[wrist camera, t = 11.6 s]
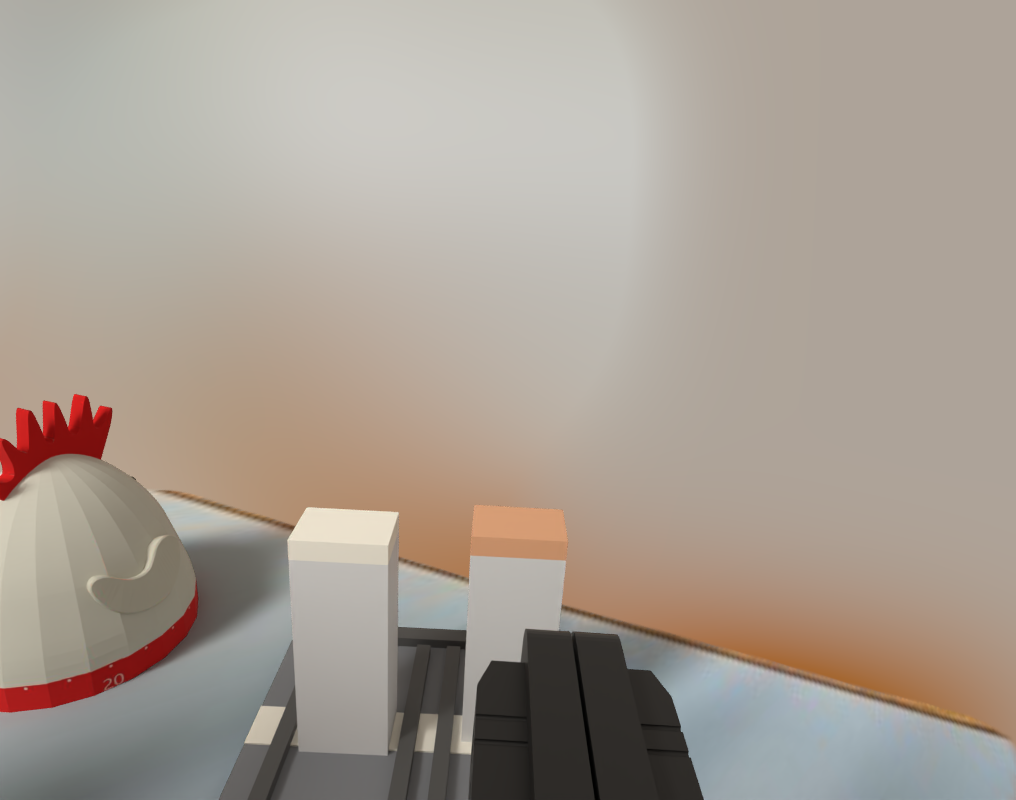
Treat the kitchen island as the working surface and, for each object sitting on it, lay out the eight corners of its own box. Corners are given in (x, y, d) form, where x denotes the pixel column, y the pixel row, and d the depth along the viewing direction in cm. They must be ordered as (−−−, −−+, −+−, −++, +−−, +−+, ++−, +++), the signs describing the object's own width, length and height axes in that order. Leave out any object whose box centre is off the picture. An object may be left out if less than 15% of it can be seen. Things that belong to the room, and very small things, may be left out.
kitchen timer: (243, 595, 46) (226, 390, 41) (56, 745, 33) (0, 478, 29) (92, 549, 50) (60, 358, 45) (-125, 668, 37) (-201, 423, 33)
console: (31, 1239, 18) (-75, 915, 14) (299, 637, 42) (290, 450, 38) (674, 1258, 19) (760, 949, 14) (581, 651, 42) (603, 467, 38)
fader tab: (461, 741, 34) (471, 536, 30) (464, 697, 37) (474, 504, 33) (546, 745, 34) (568, 541, 30) (543, 701, 37) (562, 509, 33)
